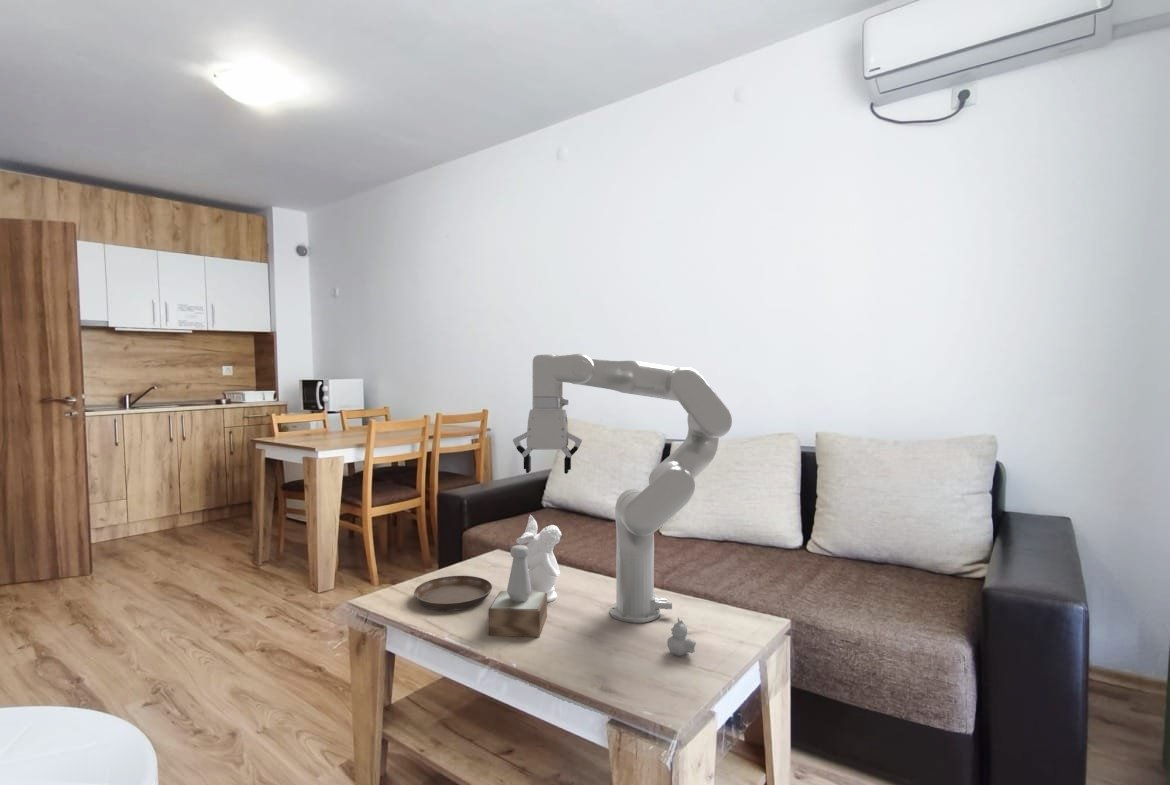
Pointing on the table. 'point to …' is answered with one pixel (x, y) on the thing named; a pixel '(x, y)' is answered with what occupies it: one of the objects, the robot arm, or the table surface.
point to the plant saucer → (453, 592)
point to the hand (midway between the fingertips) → (547, 472)
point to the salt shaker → (519, 575)
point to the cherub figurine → (541, 557)
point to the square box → (517, 615)
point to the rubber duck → (680, 640)
